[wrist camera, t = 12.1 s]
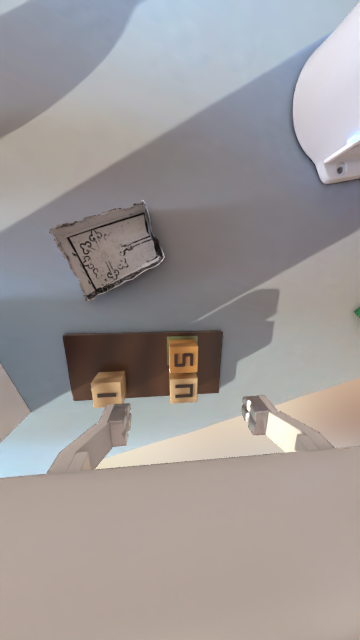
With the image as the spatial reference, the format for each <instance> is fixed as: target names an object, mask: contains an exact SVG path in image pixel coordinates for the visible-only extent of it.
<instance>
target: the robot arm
mask: <svg viewBox="0 0 360 640" xmlns="http://www.w3.org/2000/svg"><path fill="white" fill-rule="evenodd" d="M293 123H294V128H295V132H296V136H297V138H298V141H299V143H300V145H301V147H302V148H303V150H304V151H305V153H306V154H307V155H308V156H309V157H310V158H311V159H312V161H313V162H314V163H315V165H316V168H317V171H318V174H319V177H320V179H321V181H322V182H323V183H325V184H331V183H337V182H342V181H348V180H354V179H359V178H360V1H359V2H358V4H357V5H356V6H355V7H354V8H353V10H352V11H351V12H350V13H349V14H348V15H347V17H346V18H345V19H344V20H343V21H342V22H341V24H340V25H339V26H338V27H337V28H336V29H335V30H334V31H333V33H332V34H331V35H330V36H329V37H328V38H327V39H326V40H325V41H324V42H323V43H322V44H321V45H320V46H319V47H318V48H317V49H316V50H315V51H314V52H313V54H312V55H311V56H310V57H309V59H308V60H307V62H306V64H305V65H304V67H303V69H302V71H301V73H300V76H299V78H298V81H297V84H296V88H295V93H294V99H293ZM337 171H338V172H337ZM243 403H244V405H243V406H242V415H243V417H244V420H245V421H246V422H247V423H249V424H248V427H249V429H250V431H251V432H252V434H253V435H266V436H267V437H268V438H269V439H271V440H272V441H273V442H274V443H275V444H276V445H278V446H279V447H280V448H281V449H283V450H284V451H285V453H274V454H263V455H253V456H241V457H229V458H219V459H207V460H196V461H185V462H174V463H164V464H151V465H140V466H129V467H118V468H107V469H96V470H94V469H95V468H96V467H97V466H98V464H99V463H100V462H101V461H102V460H103V458H104V457H105V456H106V455H107V453H108V452H109V451H110V450H111V449H112V447H116V446H125V445H126V443H127V439H128V431H129V430H130V427H131V413H130V409H131V407H130V404H129V403H128V404H108V405H107V406H106V407H105V409H104V411H103V414H102V416H101V418H100V420H99V422H98V424H95V425H93V426H92V427H91V428H90V429H88V430H87V431H86V432H85V433H83V434H82V435H81V436H80V437H78V438H77V439H76V440H75V441H73V442H72V443H71V444H70V445H68V446H67V447H66V448H65V449H63V450H62V451H61V452H60V453H59V454H58V456H57V457H56V459H55V460H54V462H53V464H52V465H51V467H50V469H49V470H48V472H47V473H46V474H39V475H28V476H17V477H6V478H0V640H360V446H353V447H341V448H335V447H333V446H332V444H331V443H330V442H328V440H327V439H326V438H324V436H323V435H322V434H321V433H320V432H318V431H316V430H314V429H313V428H311V427H309V426H307V425H305V424H303V423H301V422H300V421H298V420H296V419H294V418H292V417H290V416H288V415H287V414H285V413H283V412H281V411H277V409H276V408H275V407H274V406H273V404H272V403H271V402H270V401H269V400H268V399H267V397H266V396H265V395H257V396H245V397H243Z"/></svg>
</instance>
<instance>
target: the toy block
mask: <svg viewBox="0 0 360 640" xmlns="http://www.w3.org/2000/svg"><path fill="white" fill-rule="evenodd" d="M30 413H31V411H30V410H29V408H28V407H27V405H26V403H25V402H24V400H23V399H22V397H21V395H20V394H19V392H18V391H17V389H16V387H15V386H14V384H13V383H12V381H11V379H10V378H9V376H8V375H7V373H6V371H5V370H4V368H3V367H2V365H1V364H0V443H1V442H2V441H3V440H4V439H5V438H6V437H7V436H8V435H9V434H10V433H11V432H12V431H13V430H14V429H15V428H16V427H17V426H18V425H19V424H20V423H21V422H22V421H23V420H24V419H25V418H26V417H27V416H28V415H29V414H30Z"/></svg>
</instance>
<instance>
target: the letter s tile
mask: <svg viewBox="0 0 360 640" xmlns="http://www.w3.org/2000/svg"><path fill="white" fill-rule="evenodd" d="M197 369H198V345H197V343H196V341H195V339H181V340H169V373H189V372H197Z"/></svg>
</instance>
